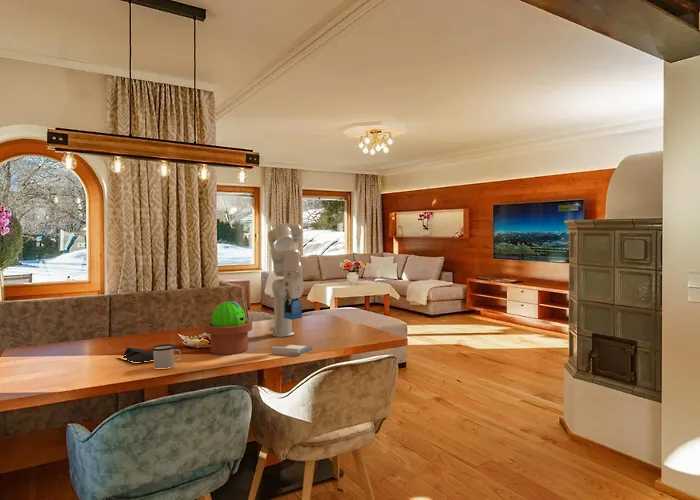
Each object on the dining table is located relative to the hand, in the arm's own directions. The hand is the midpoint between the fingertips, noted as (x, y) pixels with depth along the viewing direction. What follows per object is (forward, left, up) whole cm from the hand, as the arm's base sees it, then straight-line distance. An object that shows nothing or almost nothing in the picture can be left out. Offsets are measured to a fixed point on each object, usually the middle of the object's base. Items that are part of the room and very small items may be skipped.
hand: (292, 311), depth 228 cm
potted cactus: (-31, -9, -20) cm, 38 cm away
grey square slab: (0, -1, -19) cm, 19 cm away
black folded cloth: (-62, -35, -20) cm, 74 cm away
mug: (-39, -42, -20) cm, 61 cm away
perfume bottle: (0, 0, -4) cm, 4 cm away
